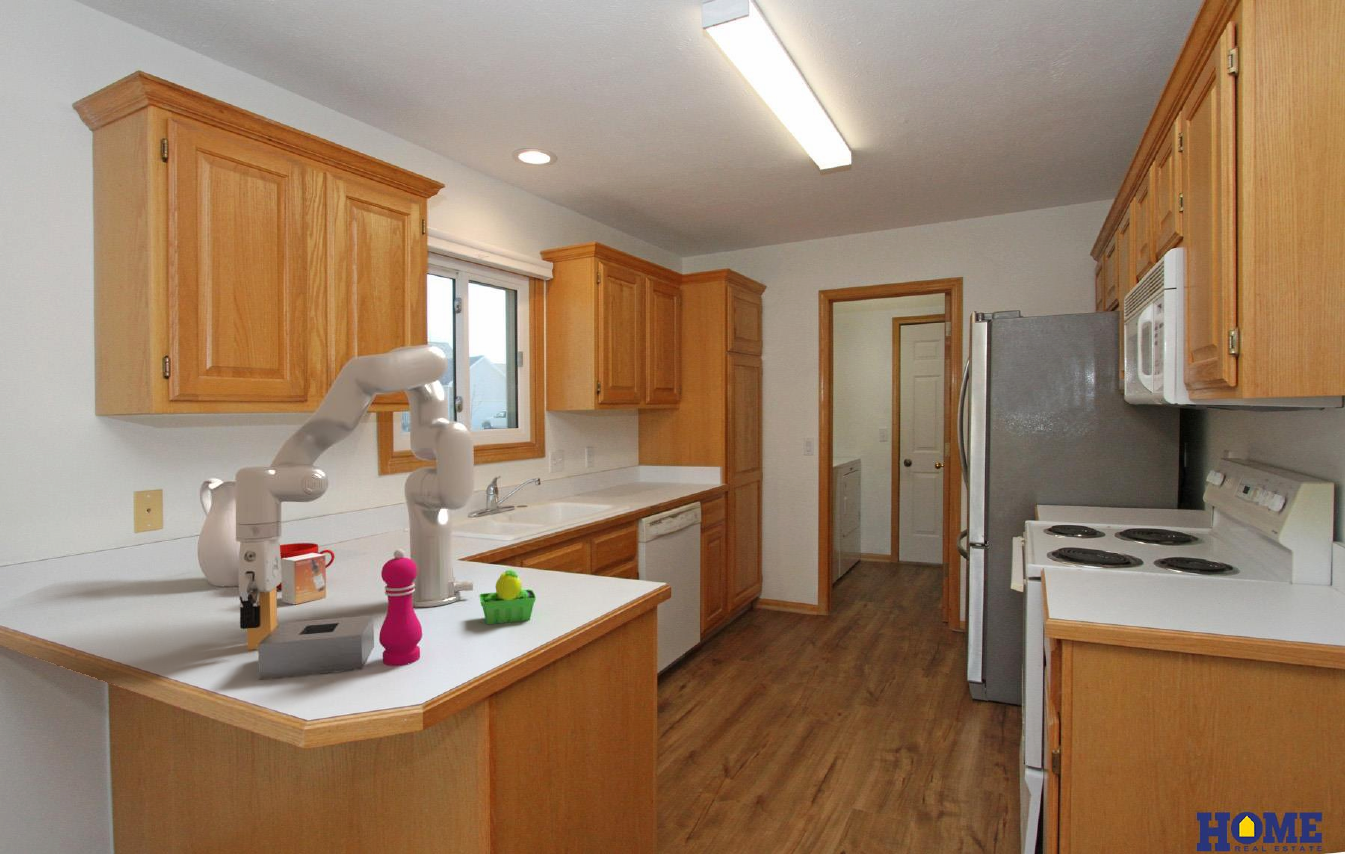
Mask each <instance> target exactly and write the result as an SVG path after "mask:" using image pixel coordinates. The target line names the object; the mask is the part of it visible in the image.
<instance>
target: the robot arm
mask: <svg viewBox="0 0 1345 854" xmlns="http://www.w3.org/2000/svg"><path fill="white" fill-rule="evenodd" d="M447 369H448V358H447V356H446V354H445V352H443V350H442V349H441V348H440V347H438V346H436V345H433V344H420V345H409V346H402V347H401V346H400V347H397V348H394V349H391V350H389V352H387V353H379V354H370V355H361V356H355V357H353V358H351V359H349V360H348V361H347V362H346V363H345V365H343V367H342V368H341V370H340V371H339V373H338V375H337V377H336V378H335V380H333V381H334V382H332V384H331V386H330V388H329V390H328V391H327V393H326V395H325V396H324V398H323V400H322V401H321V402H320V405H318V407H317V409H316V410H315V411H314V413H313V414H312V415H311V416H310V417H309V418H308V419H306V420H305V421H304V422H303V424H302V425H301V426H299V427H298V429H297V430H295V431H294V432H293V434H291V435H290V436H289V438H288V439H287V440H286V441H285V442H284V443H283V445H281V448H280V449H279V451H278V452H277V454H276V455H275V457H274V458H273V460H272V461H271V464H270V465H269V466H247V467H243V468H240V469H238V470H237V471H236V473H235V480H234V481H235V501H236V541H238V542H240V552H239V569H238V585H239V586H238V592H239V621H240V622H239V624H240V625H239V627H240V629H241V630H244V629H246V630H247V628H258V627H260V625H261V609H260V605H258V603H259V599H260V595H261V591H263V592H264V593H268V592H270V591H271V590H273V589H274V588H275V587H276V586H278V585H279V584H280V583H281V581H282V573H281V555H280V545H281V544H280V539H281V538H282V503H285V502H289V503H291V502H292V503H309V502H314V501H317V500H318V499H320V498H321V497H322V496H324V495H325V493H326V491H328V487H329V478H328V475H327V474H326V473H325V471H324V470H323V469H322V468H320V467H319V466H318V467H317V466H315V465H314V463H316V462H317V460H318V459H319V457H320V456H322V455H323V453H324V452H325V451H327V450H328V449H329V448H331V447H333V446H334V445H336V444H338V443H340V442H341V441H343V440H345V439H347V438H349V437H350V436H352V435H353V434H354V433H355V432H356V431H357V429H358V427H359V425H360V424H361V423H362V421H363V418H364V416H365V415H366V413H367V411H369V408H370V406H371V404H372V403H373V402H374V399H375V398H376V396H377V395H391V394H395V393H399V392H404V393H405V394H406V398H407V399H408V405H409V428H410V429H409V441H410V442H409V443H410V450H411V452H412V455H413V456H414V457H415V458H417V459H419V460H421V461H424V462H425V461H426V462H436V466H424V467H420V468H417V469H415V470H413V471H412V472H411V473H410V474H409V475H408V476H407V478H406V480H405V483H404V498H405V502H406V508H407V513H408V524H409V550H410V551H409V553H410V555H409V556H410V557H409V559H411V560H412V561H414V562H415V564H416V566H417V576H416V578H415V579H414V580H413V583H414V584H415V586H414V589H415V591H414V592H413V593H412V605H413V608H414V607H415V608H416V607H417V608H429V607H431V608H432V607H438V606H443V605H447V604H452V603H454V602H457V601H458V600H460V598H461V592H463V591H464V592H468V591H469V592H470V591H473V590H474V583H473V581H471V582H469V581H461V582H460V581H457V580H456V576H454V557H453V555H454V552H453V549H454V548H453V545H454V544H453V521H452V517H451V516H452V515H451V513H450V511H457V510H459V509H462V508H464V507H465V506H467V505H468V504H469V502H470V500H471V499H472V496H473V494H474V485H475V483H474V482H475V475H474V474H475V473H474V472H475V470H474V469H475V467H474V466H475V465H474V464H475V458H474V457H475V456H474V455H475V453H474V440H473V437H472V434H471V432H470V431H469V429H468V428H467V426H465V425H464V424H463V423H461V422H459V421H455V420H449V406H448V398H447V393H446V391H445V390H446V389H444V387H443V385H442V383H441V382H440V380H441V379H442V378H443V377H444V375H445V374H446V372H447ZM277 591H278V588H277V587H276V600H277V601H278V599H277V597H278V596H277V595H278V592H277ZM252 595H255V598H253V596H252Z"/></svg>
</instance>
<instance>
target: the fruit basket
mask: <svg viewBox="0 0 1345 854" xmlns="http://www.w3.org/2000/svg"><path fill="white" fill-rule="evenodd" d="M478 596H479V600H480V606H481V607H482V610H483V613H484V620H485V623H486V625H492V624H493V625H494V624H504V623H503V622H506V623H513V622H512V621H516V622H521V621H522V622H525V621H530V620H531V617H532V613H533V610H534V609H533V608H534V604H535V602H536V599H537V597H536V595H535V592H534V590H532V589H523V588H522V581H521V579H520V577H519V575H518V574H517V572H516V571H514V570H513V569H507V570H505V572H503V573H501V574H500V576H499V578H498V579H497V580H496V583H495V592H486V593H480V594H478ZM508 621H509V622H508Z"/></svg>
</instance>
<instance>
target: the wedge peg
mask: <svg viewBox="0 0 1345 854" xmlns="http://www.w3.org/2000/svg"><path fill="white" fill-rule="evenodd" d="M276 593H277V591H276V587H275V588H274V589H273V590H271V591H270V592H268V593H264V592H263V591H261V595H260V599H259V603H258V605H260V609H261V625H260V627H258V628H247V629H246V636H247V637H246V638H247V640H246V641H247V644H246V645H247V651H253V649H256V650H258V644H259V643H260V642H261V641H262V640H263V639H264V638H265V637H266V636H267V635H268V634H269V633H270V632H271V631H272V630H273V629H274V628H275V627H276V626H277V625H278V609H277V608H278V607H277V606H278V605H277V604H278V603H277V602H278V599H277V600H276ZM252 596H253V598H255V595H252Z"/></svg>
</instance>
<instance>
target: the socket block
mask: <svg viewBox="0 0 1345 854" xmlns="http://www.w3.org/2000/svg"><path fill="white" fill-rule="evenodd" d="M374 620H375V619H374V615H362V616H361V615H359V616H349V617H338V618H337V617H336V618H326V619H314V620H313V619H312V620H301V621H300V620H299V621H289V622H279V623H277V626H276V627H275V628H274V629H273V630H272V631H271V632H270V633H269V634H268V635H267V636H266V637H265V638H264V639H263V640H262V641H261V642H260V643H259V644H258V649H257V650H258V678H259V679H258V680H260V681H261V680H270V679H278V678H279V677H281V678H289V677H299V676H301V677H302V676H310V675H309V674H311V675H319V674H320V675H321V674H329V672H330V673H339V672H348V671H358V670H363V669H364V667H365V665H366V663H367V661H368V659H369V658H368V657H370V655H371V653H372V652H373V650H374V648H375V630H374V628H375V627H374V625H375V623H374ZM371 651H372V652H371ZM279 679H280V678H279Z"/></svg>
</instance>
